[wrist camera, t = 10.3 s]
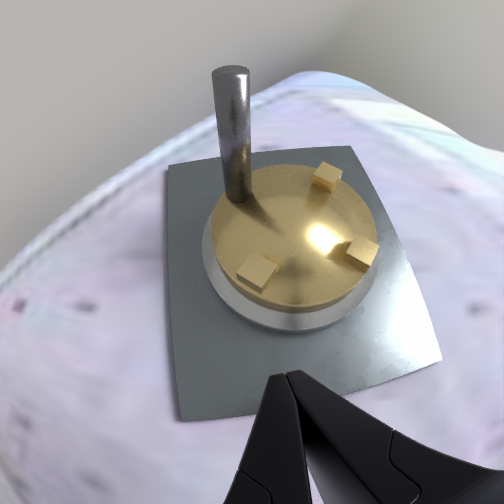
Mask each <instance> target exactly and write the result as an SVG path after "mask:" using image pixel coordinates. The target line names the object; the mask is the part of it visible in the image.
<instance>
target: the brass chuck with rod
mask: <svg viewBox="0 0 504 504" xmlns="http://www.w3.org/2000/svg"><path fill="white" fill-rule="evenodd" d="M212 81H213V91H214V101H215V110H216V119H217V128H218V137H219V145H220V154H221V162H222V171H223V179H224V187H225V192H224V193H223V194H222V195H221V197H220V199H219V200H218V202H217V204H216V206H215V209H214V212H213V215H212V221H211V237H212V241H213V246H214V250H215V254H216V259H217V262H218V264H219V267H220V269H221V271H222V273H223V275H224V276H225V278H226V279H227V280H228V282H229V283H230V284H231V286H232V287H233V288H235V289H236V290H237V291H238V292H239V293H240V294H241V295H243V296H244V297H245V298H247V299H248V300H250V301H252V302H253V303H255V304H257V305H259V306H262V307H264V308H267V309H269V310H273V311H278V312H282V313H292V314H298V313H310V312H316V311H319V310H323V309H326V308H328V307H330V306H333V305H335V304H337V303H338V302H340V301H341V300H343V299H344V298H346V297H347V296H348V295H349V294H350V293H351V292H352V291H353V290H354V289H355V288H356V286H357V285H358V284H359V282H360V281H361V280H362V278H363V277H364V275H365V274H366V273H367V271H368V269H369V267H370V266H371V264H372V261H373V259H374V257H375V255H376V253H377V251H378V248H379V245H377V233H376V226H375V222H374V219H373V217H372V214H371V212H370V210H369V208H368V206H367V205H366V203H365V202H364V200H363V199H362V198H361V196H360V195H359V194H358V193H357V192H356V191H355V190H354V189H353V188H352V187H350V186H349V185H348V184H347V183H345V182H344V181H342V180H341V176H342V173H343V171H342V170H340V169H338V168H336V167H334V166H332V165H330V164H328V163H325V162H322V163H321V164H320V166H319V167H318V168H313V167H309V166H304V165H295V164H282V165H273V166H267V167H263V168H260V169H257V170H254V171H252V172H251V128H250V83H249V82H250V78H249V70H248V69H247V68H246V67H243V66H237V65H230V66H223V67H220V68H217V69H215V70H214V71H213V72H212Z"/></svg>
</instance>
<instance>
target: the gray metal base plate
mask: <svg viewBox="0 0 504 504" xmlns="http://www.w3.org/2000/svg"><path fill="white" fill-rule="evenodd" d="M322 162H325V163H328V164H330V165H332V166H334V167H336V168H338V169H340V170H342V171H343V173H342V176H341V180H342V181H344V182H345V183H347V184H348V185H349V186H350V187H352V188H353V189H354V190H355V191H356V192H357V193H358V194H359V195H360V196H361V198H362V199H363V200H364V202H365V203H366V205H367V206H368V208H369V210H370V212H371V214H372V217H373V219H374V222H375V226H376V233H377V245H379V248H378V251H377V253H376V255H375V257H374V259H373V261H372V264H371V266H370V267H369V269H368V271H367V273H366V274H365V275H364V277H363V278H362V280H361V281H360V282H359V284H358V285H357V286H356V288H355V289H354V290H353V291H352V292H351V293H350V294H349V295H348V296H347V297H346V298H344V299H343V300H341V301H340V302H338V303H337V304H335V305H333V306H330V307H328V308H326V309H323V310H319V311H316V312H310V313H298V314H292V313H282V312H278V311H273V310H269V309H267V308H264V307H262V306H259V305H257V304H255V303H253V302H252V301H250V300H248V299H247V298H245V297H244V296H243V295H241V294H240V293H239V292H238V291H237V290H236V289H235V288H233V287H232V286H231V284H230V283H229V282H228V280H227V279H226V278H225V276H224V275H223V273H222V271H221V269H220V267H219V264H218V262H217V259H216V254H215V250H214V246H213V241H212V237H211V221H212V215H213V212H214V209H215V206H216V204H217V202H218V200H219V199H220V197H221V195H222V194H223V193H224V192H225V187H224V179H223V171H222V162H221V157H216V158H210V159H203V160H197V161H191V162H185V163H179V164H173V165H169V168H168V206H167V241H168V280H169V301H170V317H171V331H172V344H173V355H174V365H175V375H176V383H177V392H178V400H179V407H180V414H181V421H182V422H187V421H201V420H211V419H221V418H229V417H237V416H244V415H251V414H257V412H258V409H259V406H260V403H261V400H262V396H263V393H264V390H265V387H266V384H267V381H268V378H269V376H270V375H274V374H279V373H284V374H286V373H287V372H289V371H294V370H302V371H304V372H305V373H307V374H308V375H310V376H311V377H313V378H314V379H316V380H317V381H319V382H320V383H322V384H323V385H325V386H326V387H328V388H329V389H331V390H332V391H334V392H335V393H337V394H338V395H344V394H348V393H351V392H354V391H358V390H361V389H364V388H368V387H371V386H374V385H377V384H380V383H383V382H386V381H389V380H391V379H394V378H397V377H400V376H402V375H405V374H408V373H410V372H413V371H416V370H418V369H421V368H423V367H425V366H428V365H430V364H433V363H435V362H437V361H440V360H442V357H441V354H440V350H439V347H438V343H437V340H436V337H435V333H434V330H433V327H432V324H431V321H430V318H429V315H428V312H427V309H426V306H425V303H424V300H423V297H422V295H421V292H420V289H419V287H418V284H417V281H416V279H415V276H414V274H413V271H412V269H411V266H410V264H409V261H408V259H407V257H406V254H405V252H404V249H403V247H402V245H401V243H400V240H399V238H398V236H397V234H396V231H395V229H394V227H393V225H392V223H391V221H390V219H389V217H388V214H387V212H386V210H385V208H384V206H383V204H382V202H381V200H380V198H379V196H378V194H377V193H376V191H375V189H374V187H373V185H372V183H371V181H370V179H369V177H368V176H367V174H366V172H365V170H364V168H363V167H362V165H361V163H360V161H359V160H358V158H357V156H356V154H355V153H354V151H353V149H352V148H351V146H331V147H313V148H299V149H286V150H275V151H265V152H256V153H251V172H252V171H254V170H257V169H260V168H263V167H267V166H273V165H282V164H295V165H304V166H309V167H313V168H318V167H319V166H320V164H321V163H322Z"/></svg>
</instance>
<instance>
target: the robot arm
mask: <svg viewBox="0 0 504 504" xmlns="http://www.w3.org/2000/svg"><path fill="white" fill-rule="evenodd" d="M307 466H308V468H309V470H310V473H311V475H312V477H313V480H314V482H315V484H316V486H317V489H318V491H319V493H320V496H321V498H322V500H323V502H324V504H504V470H494V469H489V468H485V467H481V466H478V465H475V464H472V463H469V462H466V461H463V460H460V459H457V458H455V457H452V456H449V455H446V454H444V453H441V452H439V451H436V450H434V449H432V448H429V447H427V446H425V445H423V444H421V443H419V442H417V441H415V440H413V439H411V438H409V437H407V436H405V435H404V434H402V433H400V432H398V431H397V430H394V431H393V428H391V427H390V426H388V425H386V424H385V423H383V422H381V421H380V420H378V419H376V418H375V417H373V416H371V415H370V414H368V413H367V412H365V411H363V410H362V409H360V408H359V407H357V406H355V405H354V404H352V403H351V402H349V401H348V400H346V399H344V398H343V397H341V396H340V395H338V394H337V393H335V392H334V391H332V390H331V389H329V388H328V387H326V386H325V385H323V384H322V383H320V382H319V381H317V380H316V379H314V378H313V377H311V376H310V375H308V374H307V373H305V372H304V371H302V370H294V371H289V372H287V373H286V374H284V373H279V374H274V375H270V376H269V378H268V381H267V384H266V387H265V390H264V393H263V396H262V400H261V403H260V406H259V409H258V412H257V415H256V418H255V421H254V424H253V427H252V430H251V433H250V436H249V438H248V441H247V444H246V447H245V450H244V453H243V456H242V458H241V461H240V464H239V467H238V470H237V472H236V474H235V477H234V480H233V482H232V485H231V487H230V489H229V492H228V494H227V496H226V498H225V501H224V503H223V504H312V497H311V490H310V483H309V476H308V469H307Z"/></svg>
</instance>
